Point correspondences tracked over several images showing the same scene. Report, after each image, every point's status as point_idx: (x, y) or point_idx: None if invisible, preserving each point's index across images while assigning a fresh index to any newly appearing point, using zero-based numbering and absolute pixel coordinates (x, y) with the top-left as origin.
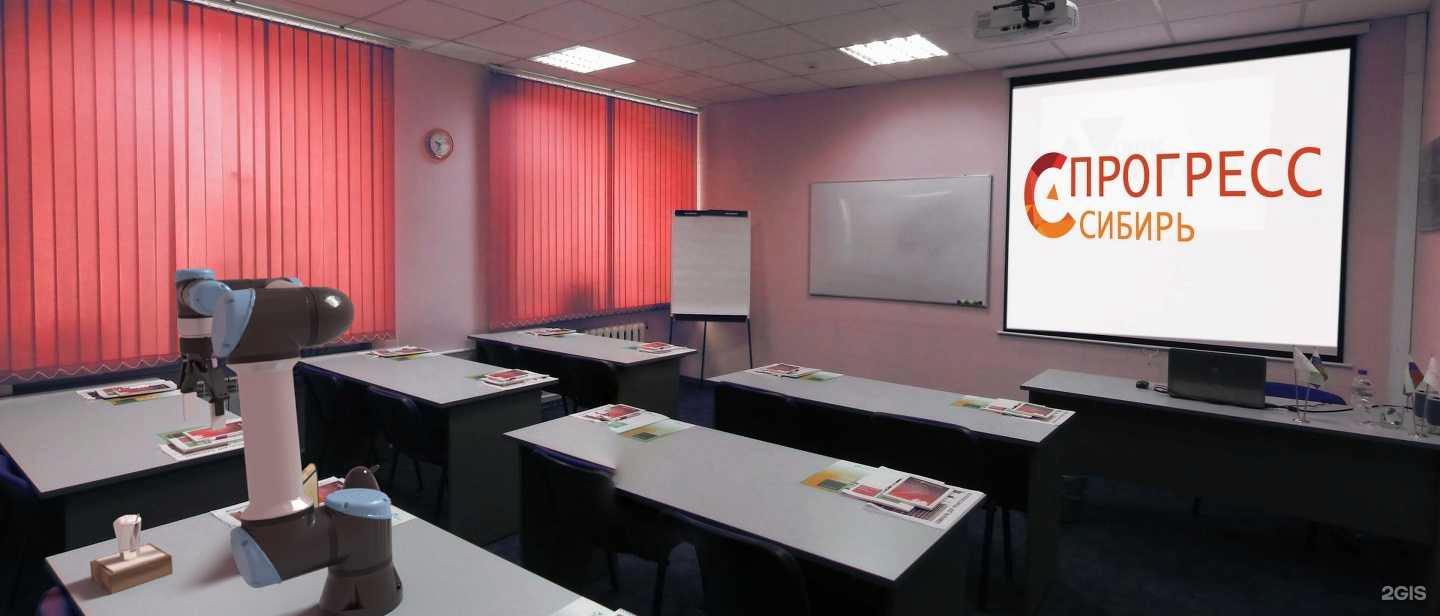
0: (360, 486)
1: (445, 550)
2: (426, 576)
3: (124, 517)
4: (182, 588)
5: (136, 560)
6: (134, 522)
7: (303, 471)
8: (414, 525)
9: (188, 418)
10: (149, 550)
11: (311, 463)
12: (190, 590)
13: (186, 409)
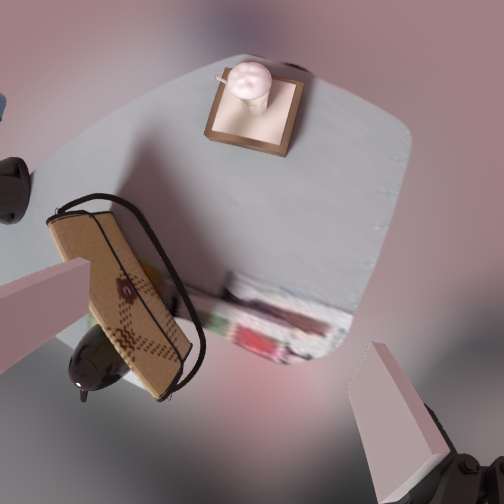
0: (72, 354)
1: None
2: (8, 249)
3: (250, 73)
4: (159, 121)
5: (233, 101)
6: (227, 80)
7: (128, 362)
8: None
9: (367, 360)
10: (250, 129)
11: (158, 399)
12: (146, 123)
13: (387, 387)
